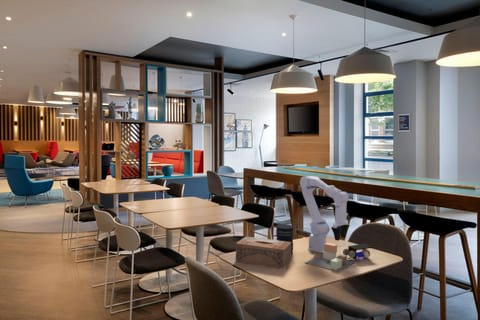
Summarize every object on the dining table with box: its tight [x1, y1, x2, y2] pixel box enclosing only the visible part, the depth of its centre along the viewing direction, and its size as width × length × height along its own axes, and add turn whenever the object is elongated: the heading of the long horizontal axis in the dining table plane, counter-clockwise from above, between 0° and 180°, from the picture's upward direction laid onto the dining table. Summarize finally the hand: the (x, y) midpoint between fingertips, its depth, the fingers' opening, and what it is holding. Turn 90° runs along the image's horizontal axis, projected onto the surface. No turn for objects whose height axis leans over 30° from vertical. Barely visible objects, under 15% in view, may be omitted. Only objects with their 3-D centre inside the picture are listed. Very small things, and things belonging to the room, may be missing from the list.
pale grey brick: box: [322, 251, 337, 260], centre depth 203 cm, size 6×3×4 cm, turn 50°
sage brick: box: [330, 258, 342, 270], centre depth 189 cm, size 6×3×4 cm, turn 140°
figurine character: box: [342, 243, 373, 261], centre depth 204 cm, size 7×8×15 cm
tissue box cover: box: [235, 236, 292, 270], centre depth 198 cm, size 26×14×10 cm, turn 68°
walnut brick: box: [336, 254, 348, 266], centre depth 195 cm, size 6×3×4 cm, turn 140°
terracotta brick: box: [324, 242, 338, 254], centre depth 202 cm, size 6×3×4 cm, turn 50°
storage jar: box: [275, 223, 295, 255], centre depth 213 cm, size 10×10×15 cm
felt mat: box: [304, 253, 356, 273], centre depth 198 cm, size 19×20×1 cm
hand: (340, 238), depth 205 cm, fingers open, 7 cm apart
